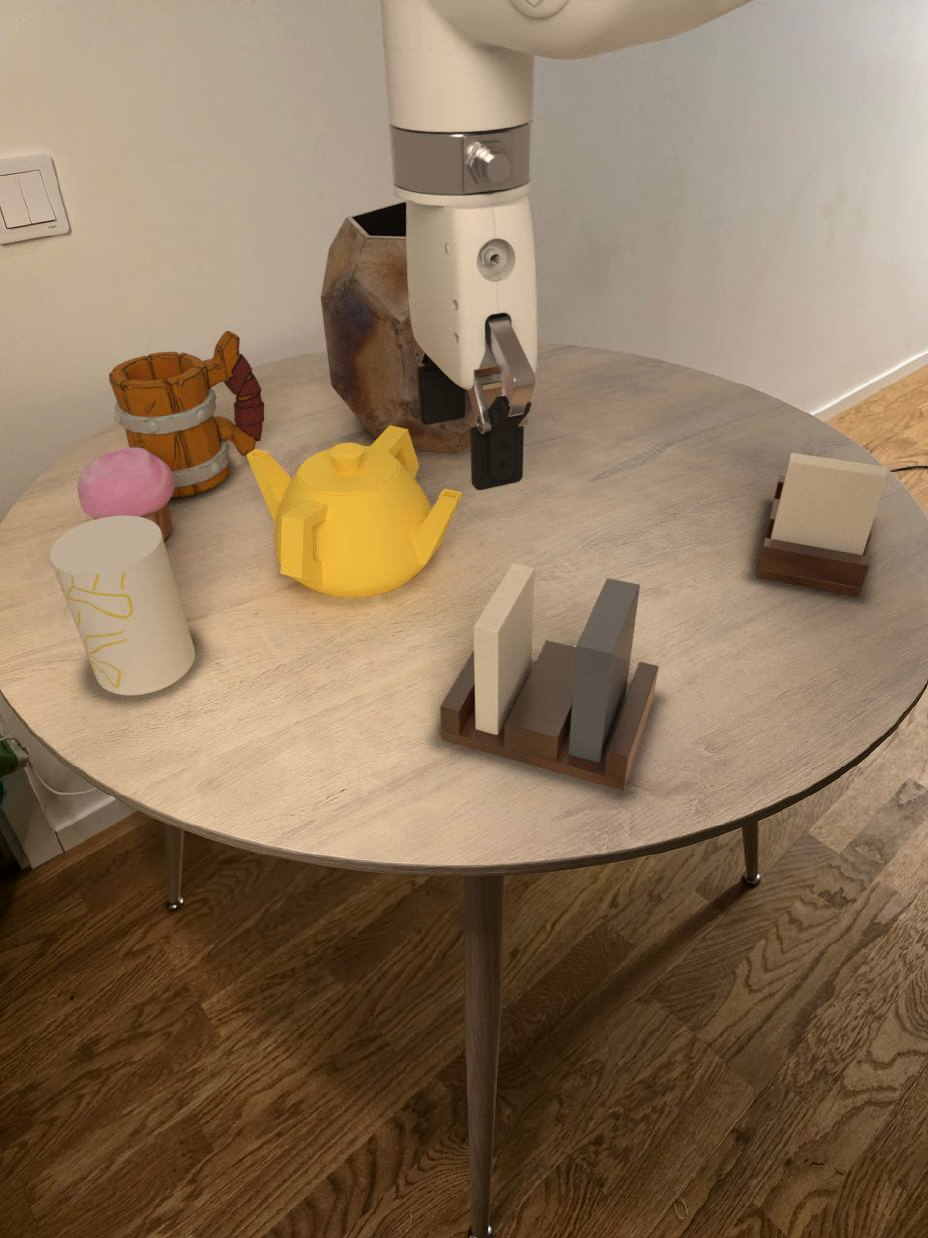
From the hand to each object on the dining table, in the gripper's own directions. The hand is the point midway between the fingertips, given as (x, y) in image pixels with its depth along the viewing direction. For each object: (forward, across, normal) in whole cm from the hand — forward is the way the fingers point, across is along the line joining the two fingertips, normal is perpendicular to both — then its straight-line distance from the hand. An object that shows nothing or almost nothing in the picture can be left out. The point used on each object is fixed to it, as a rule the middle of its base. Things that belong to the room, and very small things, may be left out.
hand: (468, 450), depth 57 cm
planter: (+21, +47, -13) cm, 53 cm away
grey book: (+20, -8, -7) cm, 23 cm away
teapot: (+21, +21, +4) cm, 30 cm away
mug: (+21, +46, +15) cm, 53 cm away
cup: (+21, +13, +25) cm, 35 cm away
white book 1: (+20, -3, -1) cm, 20 cm away
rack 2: (+21, +6, -38) cm, 44 cm away
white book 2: (+20, +3, -35) cm, 41 cm away
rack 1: (+21, -6, -4) cm, 22 cm away
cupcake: (+21, +32, +23) cm, 45 cm away
